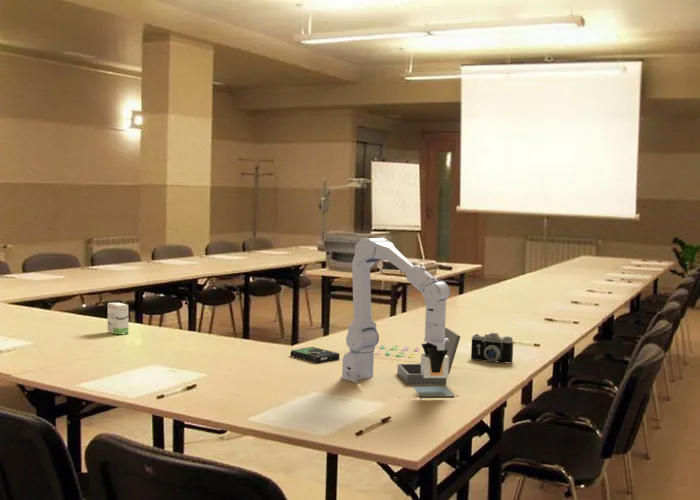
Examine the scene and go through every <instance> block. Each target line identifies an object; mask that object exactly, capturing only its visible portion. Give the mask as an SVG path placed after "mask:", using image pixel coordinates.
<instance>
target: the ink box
mask: <svg viewBox="0 0 700 500" xmlns="http://www.w3.org/2000/svg"><path fill="white" fill-rule="evenodd" d="M107 331H110V332H113V333H116V334H122V333H128V334H129V304H125V303H121V302H108V303H107Z"/></svg>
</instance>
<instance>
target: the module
mask: <svg viewBox="0 0 700 500" xmlns="http://www.w3.org/2000/svg"><path fill="white" fill-rule="evenodd" d="M420 363H421V375H422V376H423V377H424V378H447V379H448V378H449V374H448V367H449V357H448V356H447V355H445V357H444V360H443V363H442V367H441V370H440V373H433V372H432V368H431V359H430V355H429V354H425V353H421V354H420Z"/></svg>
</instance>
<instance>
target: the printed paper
mask: <svg viewBox="0 0 700 500" xmlns="http://www.w3.org/2000/svg"><path fill="white" fill-rule="evenodd" d="M398 348H400V347H399V346H398V345H397V344H394V345H393V347H389V350H390V351H389V350H387V351H386V352H385V353H384V355H386V356H389V355H391V350H392V351H397V350H398ZM379 349H381V350H383V349H386V346H385V344H383V345H382V344H381V346H380V347H379ZM404 351H405V352H406V351H407V352H408V351H409V348H408V346H405V348H403V349H402V350H400V351H399V352H398V353H397V354H396V353H395V354H394V353H393V356H397V357H398V358H401V357H402V356H406V354H405V353H404ZM413 351H414V352H420V349H419V347H418V346H416V347H415V349H413ZM413 351H412V352H411V354H410V355H408V356H407V358H408V357H409V358H416V355H415V353H414V352H413ZM380 355H382V354H381V352H380V351H379V350H378V351H377V352H375V356H380Z"/></svg>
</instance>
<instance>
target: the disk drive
mask: <svg viewBox="0 0 700 500" xmlns="http://www.w3.org/2000/svg"><path fill="white" fill-rule="evenodd" d="M292 356H294V357H293V358H296V357H298V358H297V359H299V358H301V359H300V360H303V359H305V360H304V361H307V360H308V362H310V361H312V362H311V363H313V364H322V362H323V363H328V361H329V362H333V361H334V360H335V361H339V360H340V353H338V352H335V351H332V350H326V349H323V348H319V347H314V346H308V347H302V348H299V349H298V348H297V349H291V351H290V357H292ZM335 361H334V362H335Z"/></svg>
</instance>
